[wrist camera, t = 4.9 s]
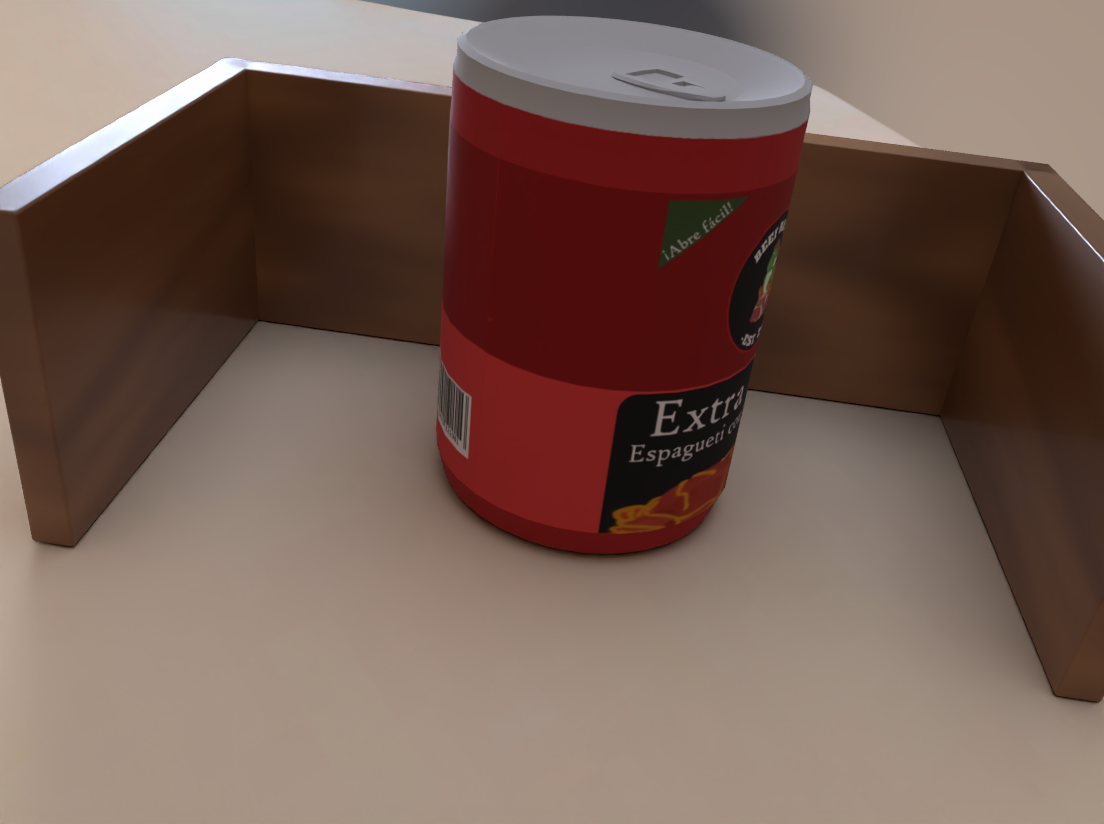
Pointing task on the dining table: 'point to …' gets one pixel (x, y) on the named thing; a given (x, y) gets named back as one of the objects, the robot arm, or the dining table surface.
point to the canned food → (607, 270)
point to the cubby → (417, 279)
